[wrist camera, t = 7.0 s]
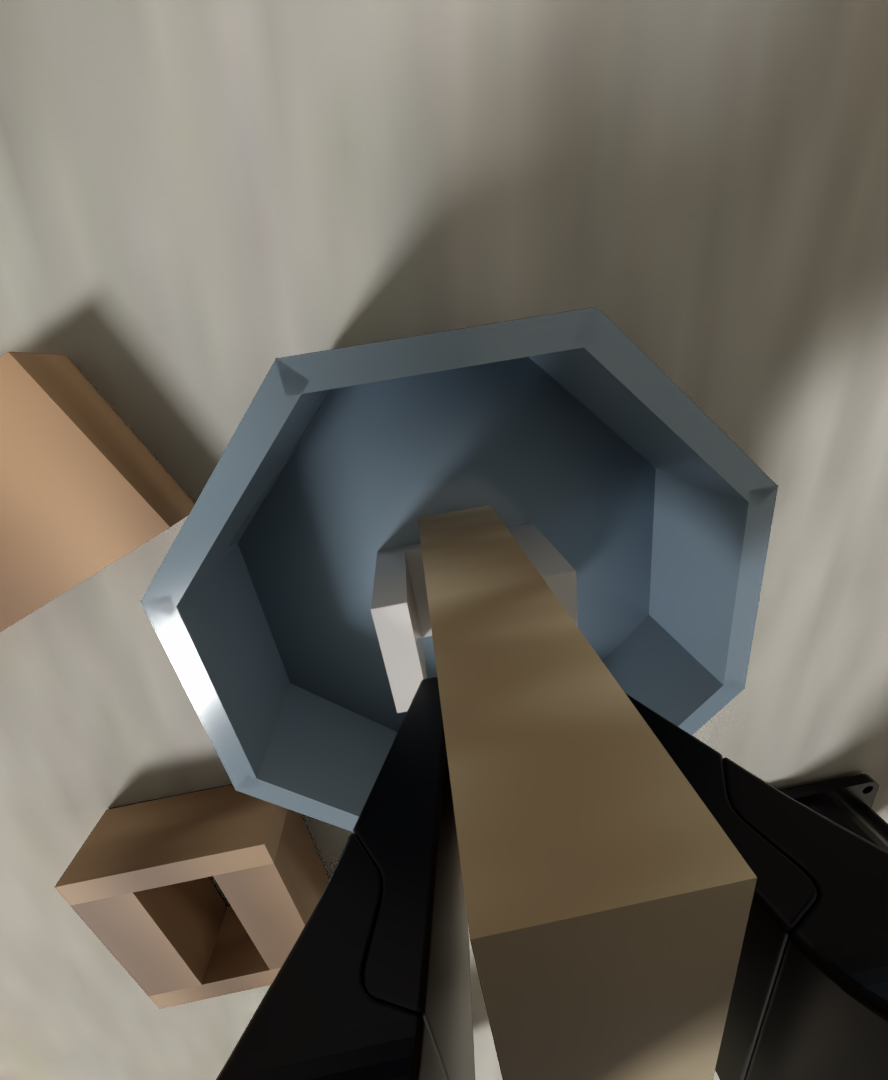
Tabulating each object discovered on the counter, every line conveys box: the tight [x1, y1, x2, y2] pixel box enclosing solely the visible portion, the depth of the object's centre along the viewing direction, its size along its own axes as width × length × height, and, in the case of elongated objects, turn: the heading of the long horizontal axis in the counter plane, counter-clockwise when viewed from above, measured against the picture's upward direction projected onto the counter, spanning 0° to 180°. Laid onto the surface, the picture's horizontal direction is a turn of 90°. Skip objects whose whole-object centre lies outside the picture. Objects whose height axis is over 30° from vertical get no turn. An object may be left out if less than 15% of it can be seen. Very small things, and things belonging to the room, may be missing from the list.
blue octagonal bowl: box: [140, 306, 778, 832], centre depth 11 cm, size 13×13×4 cm
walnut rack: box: [54, 785, 329, 1009], centre depth 16 cm, size 7×8×2 cm
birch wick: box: [418, 505, 757, 1080], centre depth 8 cm, size 2×4×9 cm, turn 8°
